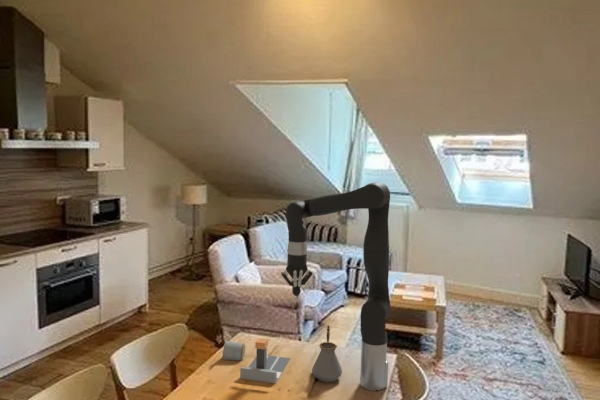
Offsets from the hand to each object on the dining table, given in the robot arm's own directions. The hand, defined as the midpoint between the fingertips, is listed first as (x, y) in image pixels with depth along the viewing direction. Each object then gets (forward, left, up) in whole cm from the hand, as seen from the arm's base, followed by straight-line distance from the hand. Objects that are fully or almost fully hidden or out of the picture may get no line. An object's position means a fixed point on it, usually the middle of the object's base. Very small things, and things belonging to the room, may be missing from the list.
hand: (296, 295), depth 195 cm
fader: (+15, +8, -28) cm, 33 cm away
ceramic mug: (+22, -12, -29) cm, 39 cm away
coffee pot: (-11, +8, -29) cm, 32 cm away
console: (+12, +2, -29) cm, 31 cm away
